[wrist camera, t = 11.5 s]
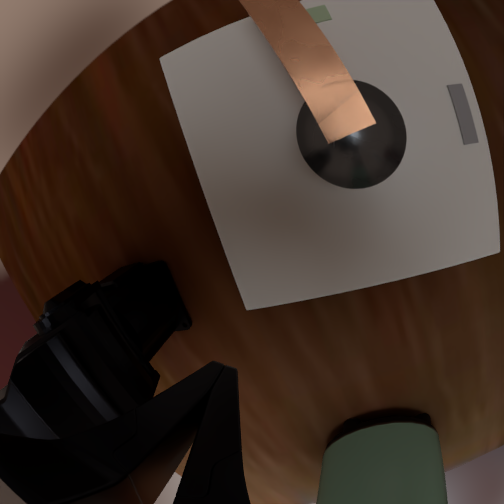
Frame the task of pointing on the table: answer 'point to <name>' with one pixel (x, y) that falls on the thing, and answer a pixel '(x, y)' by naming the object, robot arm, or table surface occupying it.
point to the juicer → (384, 463)
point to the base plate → (313, 186)
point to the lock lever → (332, 101)
